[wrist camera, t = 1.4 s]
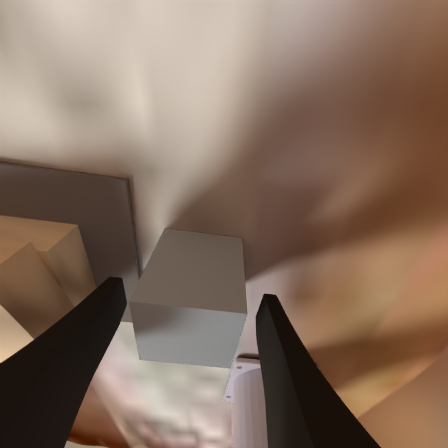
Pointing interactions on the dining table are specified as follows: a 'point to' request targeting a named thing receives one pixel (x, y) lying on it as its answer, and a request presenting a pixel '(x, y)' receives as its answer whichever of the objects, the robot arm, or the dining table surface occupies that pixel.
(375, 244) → the dining table surface
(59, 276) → the tower base
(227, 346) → the gray block
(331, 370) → the dining table surface
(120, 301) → the robot arm
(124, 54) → the dining table surface
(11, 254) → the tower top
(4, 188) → the felt mat
